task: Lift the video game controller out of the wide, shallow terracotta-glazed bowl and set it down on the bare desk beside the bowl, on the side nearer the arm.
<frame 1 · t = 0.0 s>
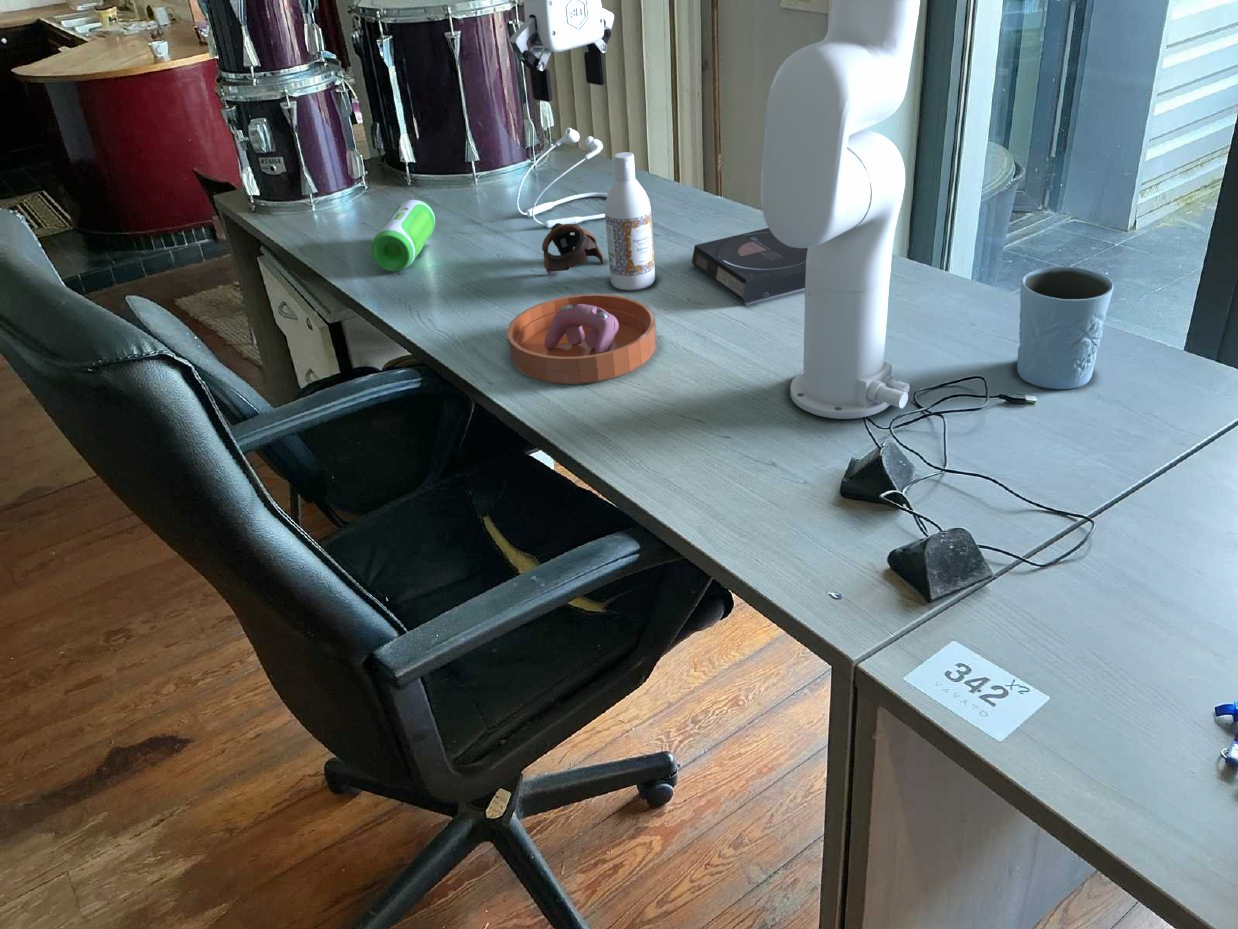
hand: (570, 91, 139), 31 cm above the table, tool pointing down, fingers open, 9 cm apart
brown ring bracket: (572, 267, 170), on the table
earphone: (574, 213, 192), on the table
catchall bowl: (583, 350, 144), on the table
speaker: (408, 256, 180), on the table
portable cd player: (765, 276, 161), on the table
embossed flower pot: (1051, 373, 129), on the table
bath foam: (633, 283, 162), on the table
video game controller: (583, 349, 143), resting on catchall bowl
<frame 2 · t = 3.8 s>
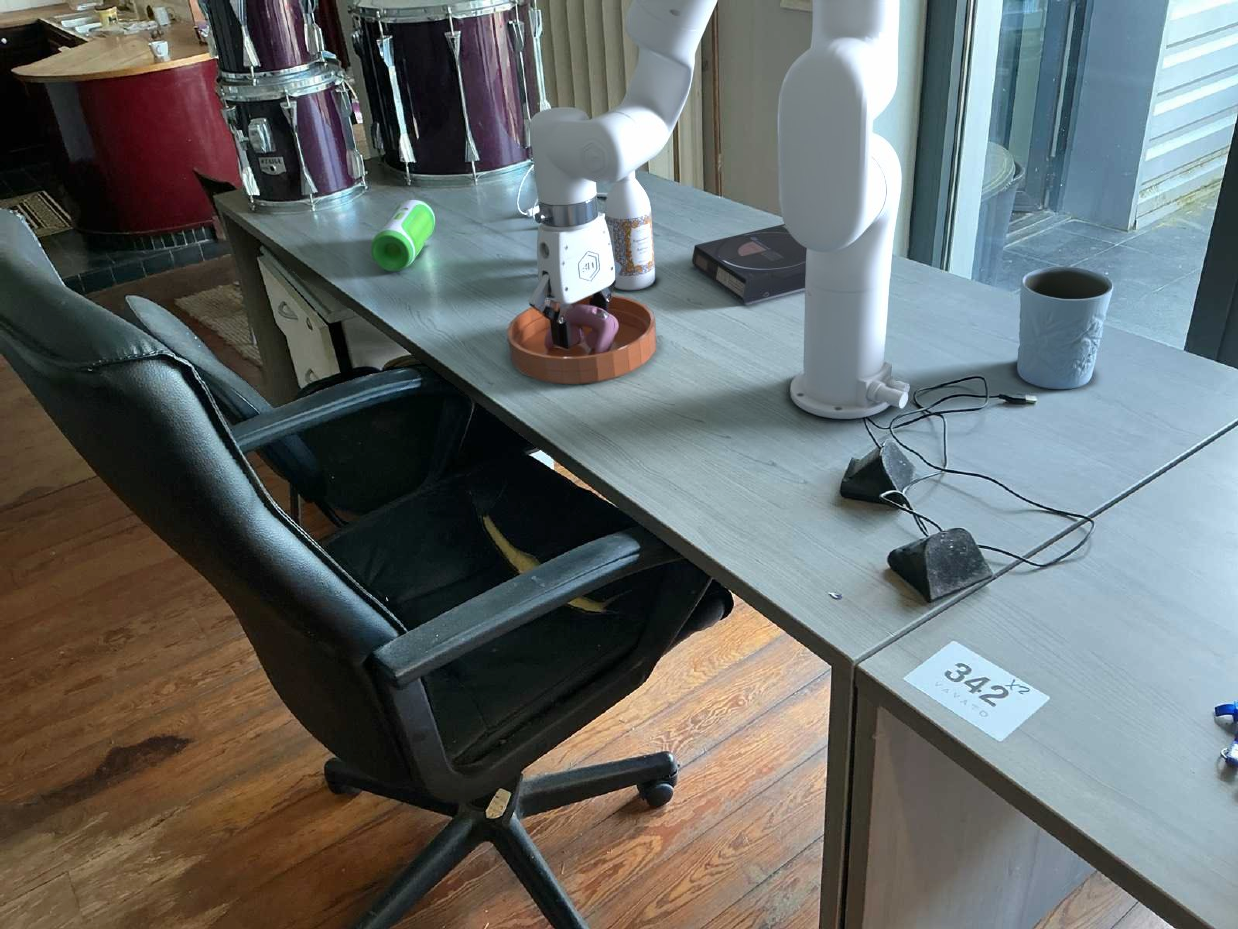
hand: (582, 335, 142), 2 cm above the table, tool pointing down, fingers closed on video game controller, 6 cm apart
video game controller: (583, 349, 143), resting on catchall bowl, touching gripper
everything else where it was.
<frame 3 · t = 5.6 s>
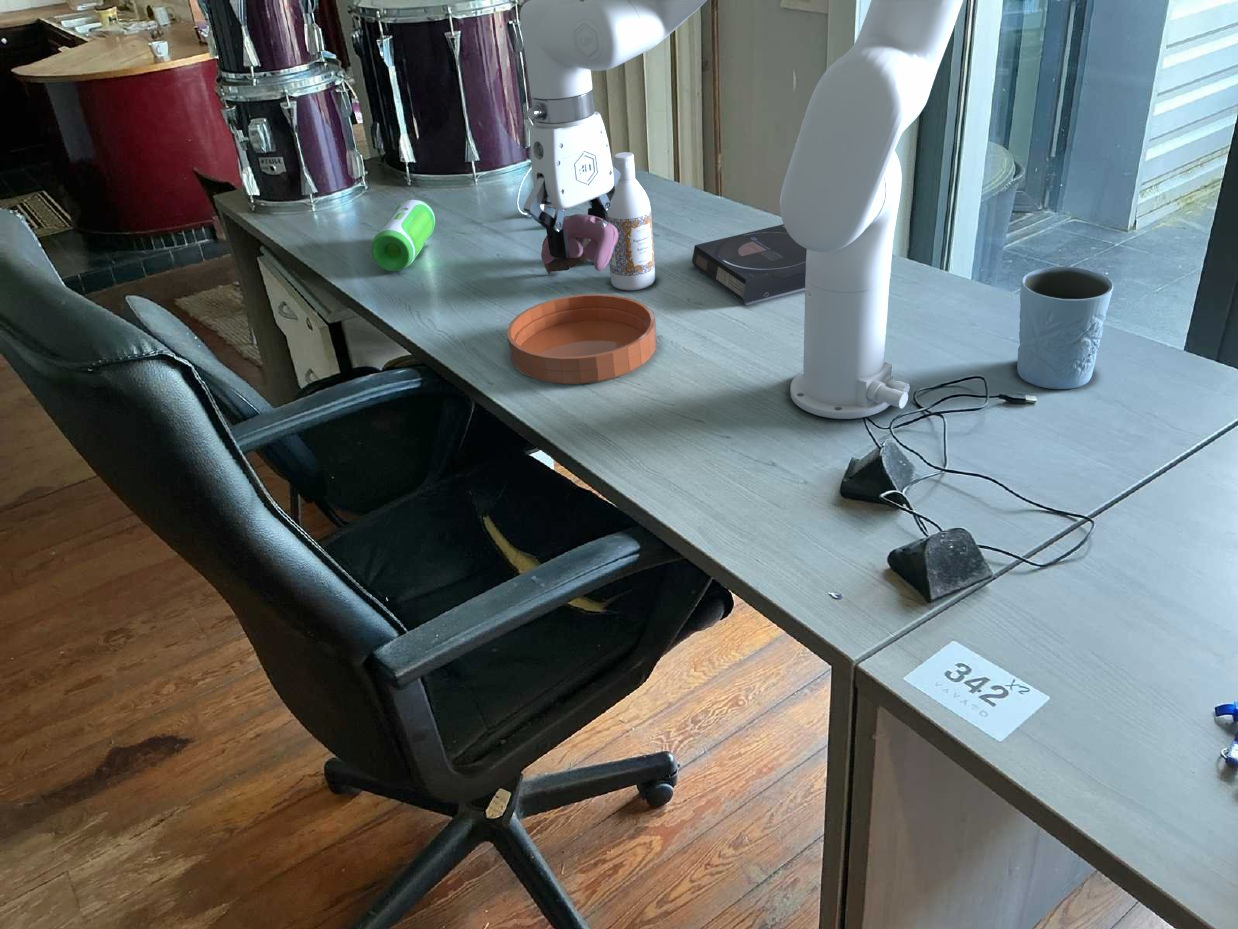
hand: (580, 247, 135), 15 cm above the table, tool pointing down, fingers closed on video game controller, 6 cm apart
video game controller: (582, 262, 136), point 13 cm above the table, touching gripper
everything else where it was.
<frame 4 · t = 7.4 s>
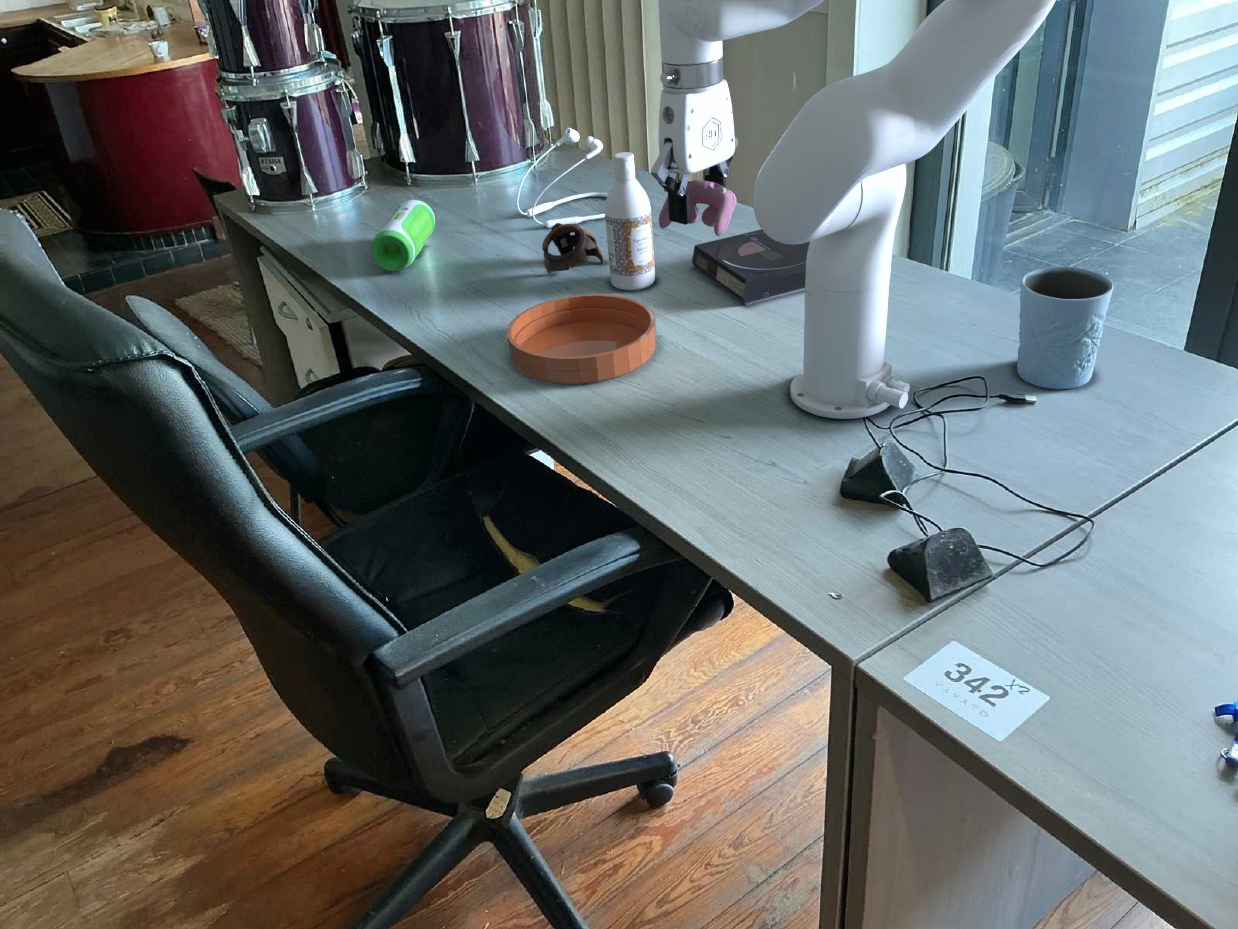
hand: (698, 212, 138), 17 cm above the table, tool pointing down, fingers closed on video game controller, 6 cm apart
video game controller: (698, 228, 139), point 15 cm above the table, touching gripper
everything else where it was.
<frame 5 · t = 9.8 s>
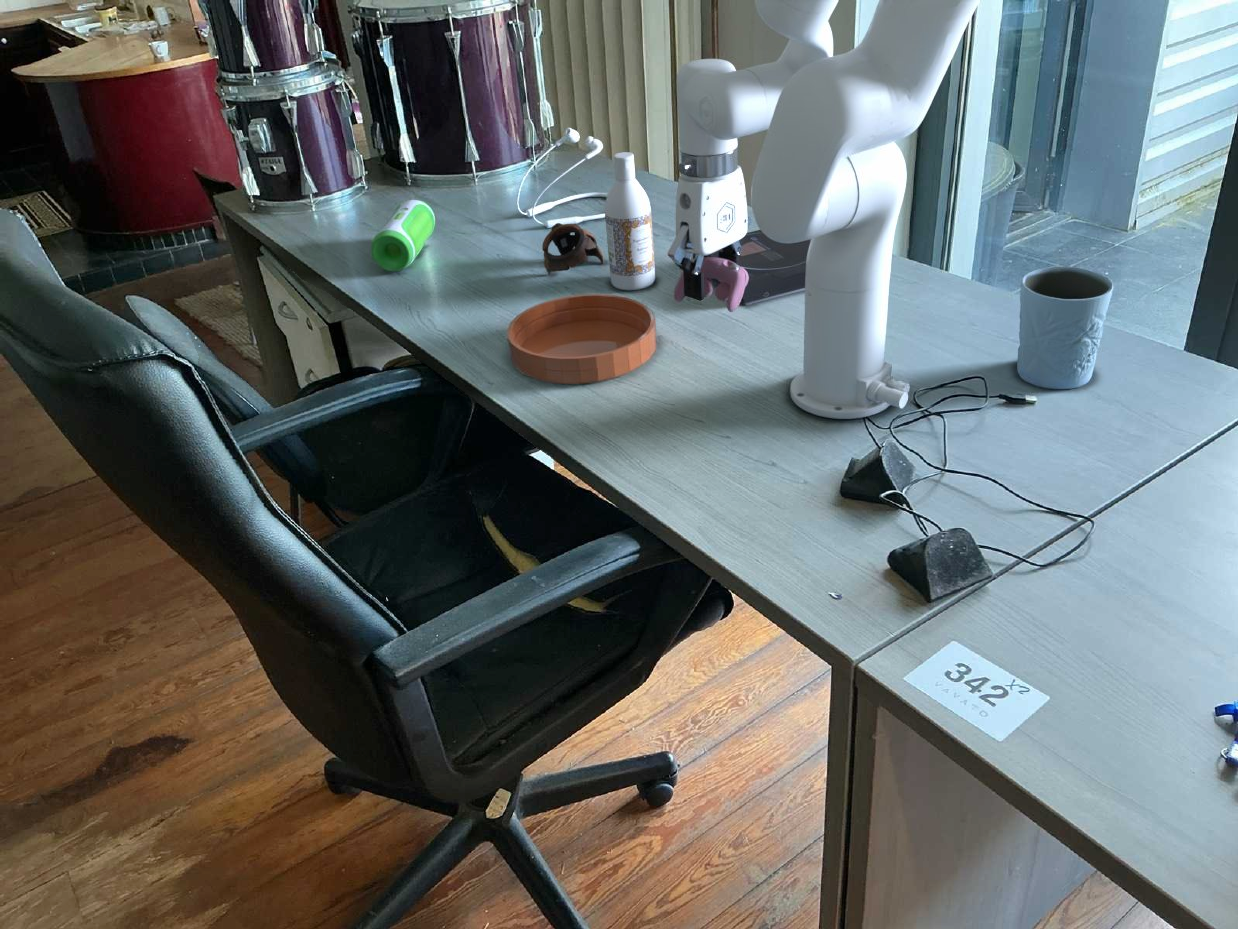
hand: (711, 287, 145), 5 cm above the table, tool pointing down, fingers closed on video game controller, 6 cm apart
video game controller: (711, 301, 146), point 3 cm above the table, touching gripper
everything else where it was.
when the fingers open (2 cm above the table, at t = 11.3 s): video game controller stays where it is, on the table.
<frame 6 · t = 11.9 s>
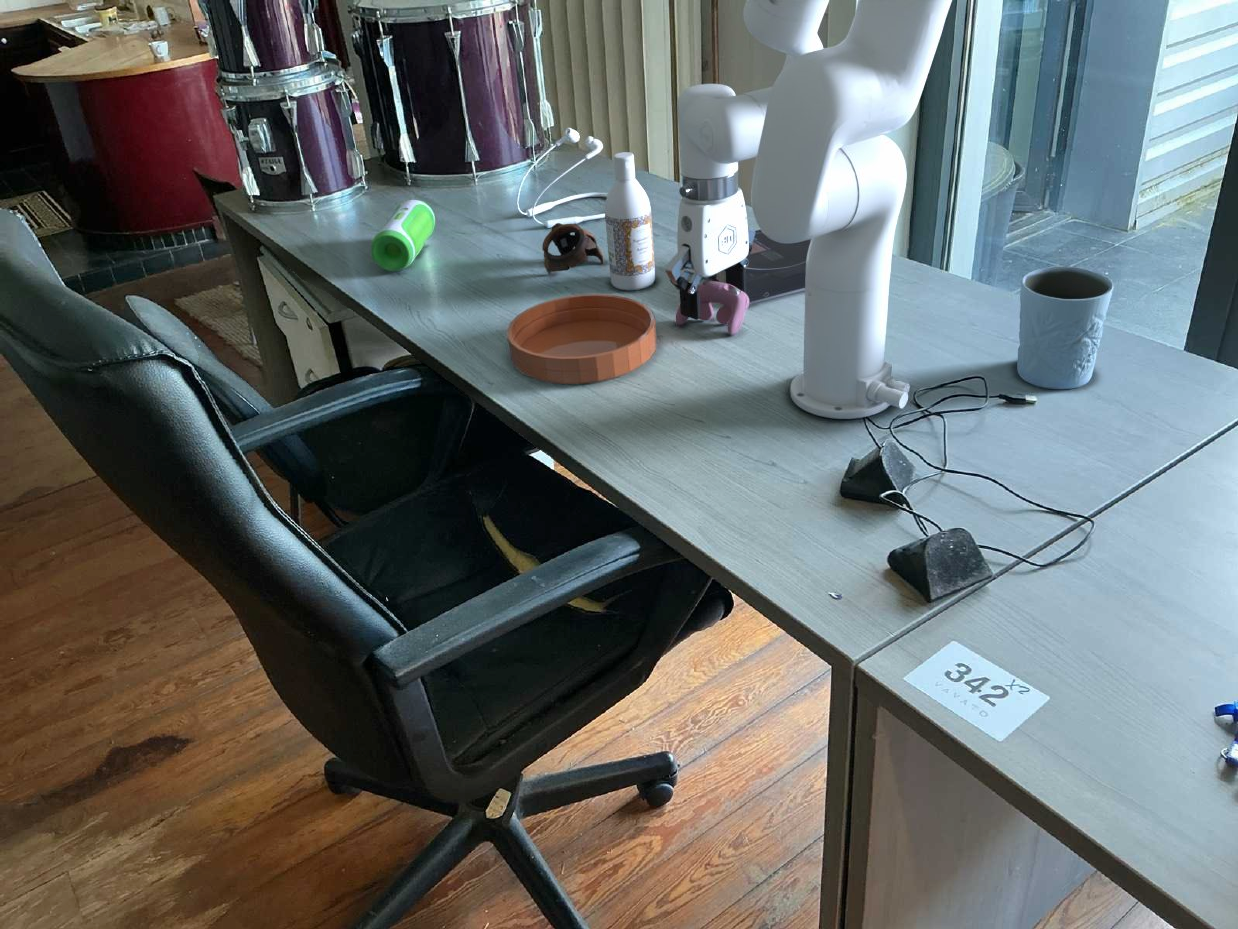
hand: (713, 304, 146), 3 cm above the table, tool pointing down, fingers open, 9 cm apart
video game controller: (712, 325, 148), on the table
everything else where it was.
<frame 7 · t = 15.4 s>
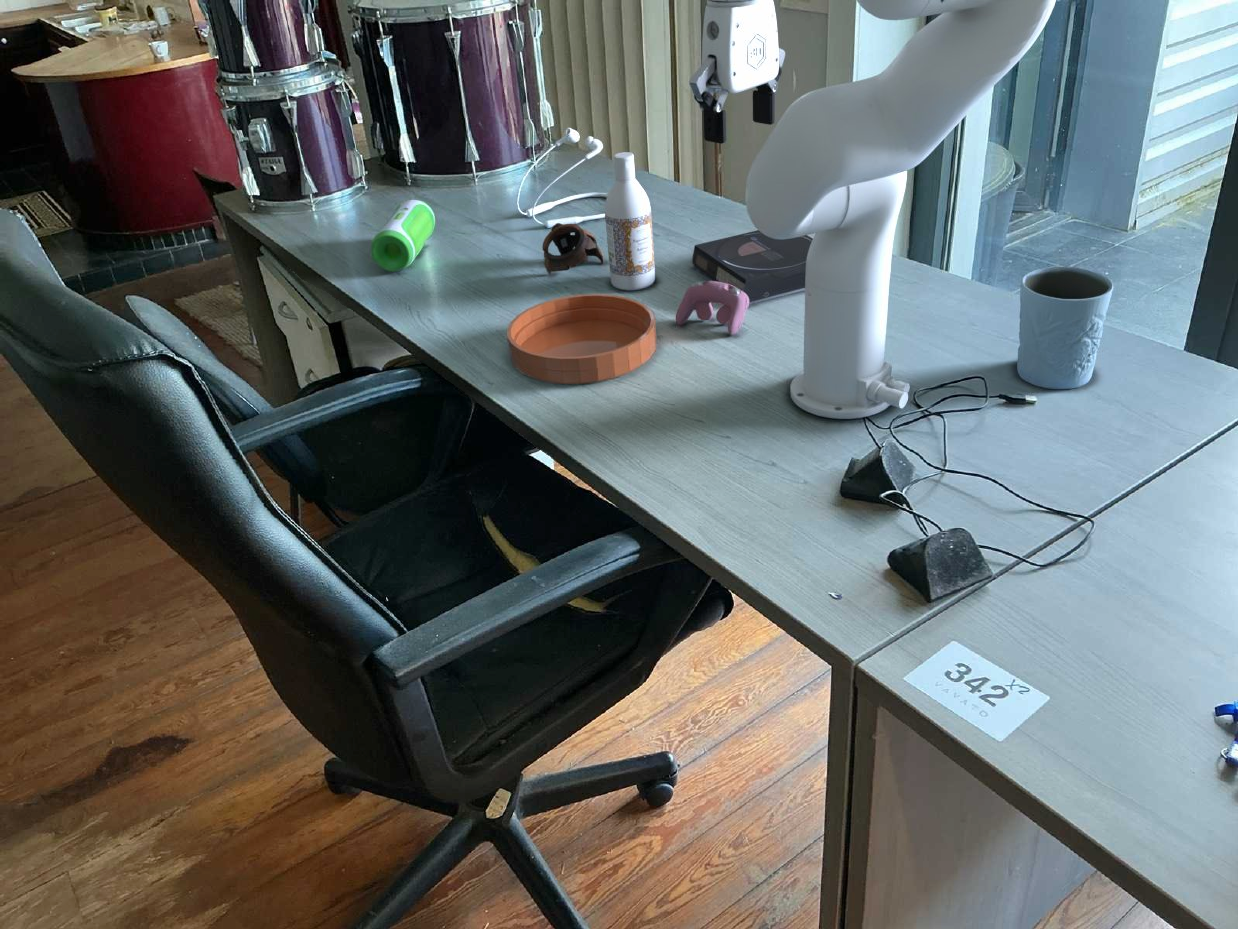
hand: (739, 132, 134), 26 cm above the table, tool pointing down, fingers open, 9 cm apart
nothing on the table moved.
at the end: video game controller inside the target area (0.1 cm from its centre), on the table; video game controller touching table; the gripper is holding nothing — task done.
